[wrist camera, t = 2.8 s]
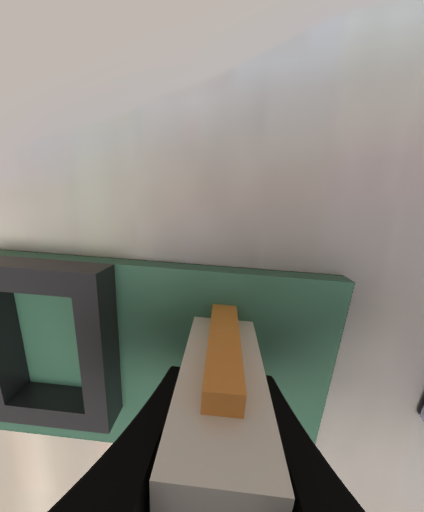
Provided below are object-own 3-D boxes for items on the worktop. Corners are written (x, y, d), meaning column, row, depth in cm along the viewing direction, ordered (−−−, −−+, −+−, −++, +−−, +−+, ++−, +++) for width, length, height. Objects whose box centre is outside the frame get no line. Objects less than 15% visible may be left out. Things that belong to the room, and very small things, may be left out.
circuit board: (343, 275, 11) (354, 282, 10) (303, 447, 14) (309, 465, 13) (-23, 247, 11) (-46, 252, 11) (15, 414, 14) (-1, 429, 13)
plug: (254, 307, 10) (301, 470, 4) (245, 385, 11) (269, 607, 5) (195, 302, 10) (148, 452, 4) (191, 380, 12) (151, 589, 5)
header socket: (114, 264, 10) (95, 273, 9) (122, 407, 12) (109, 434, 11) (-16, 254, 10) (-55, 262, 9) (15, 395, 13) (-13, 420, 11)
